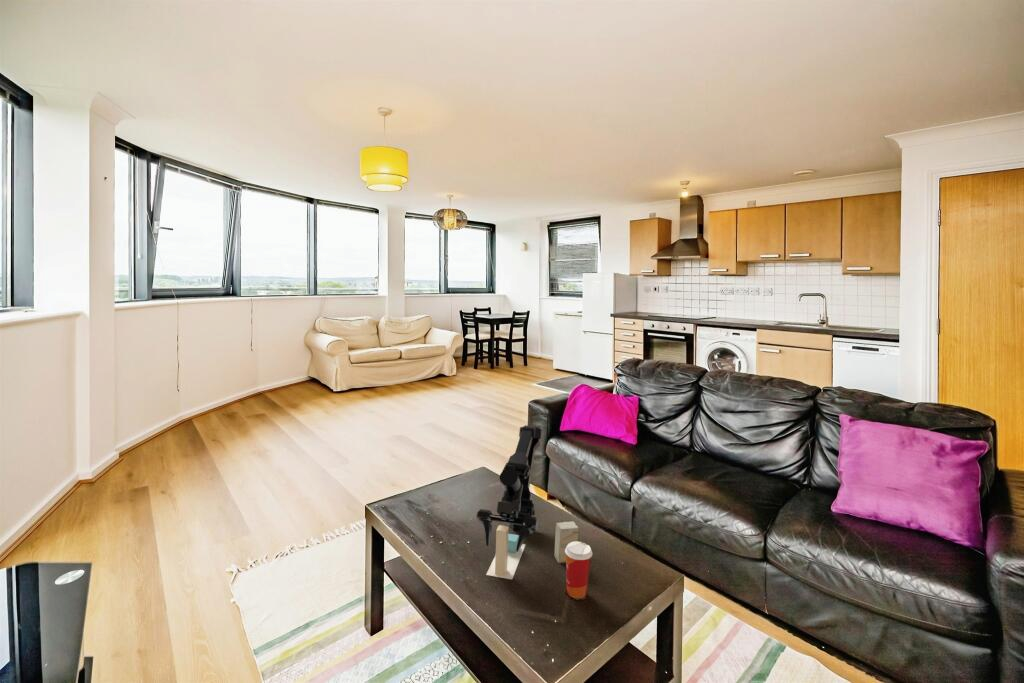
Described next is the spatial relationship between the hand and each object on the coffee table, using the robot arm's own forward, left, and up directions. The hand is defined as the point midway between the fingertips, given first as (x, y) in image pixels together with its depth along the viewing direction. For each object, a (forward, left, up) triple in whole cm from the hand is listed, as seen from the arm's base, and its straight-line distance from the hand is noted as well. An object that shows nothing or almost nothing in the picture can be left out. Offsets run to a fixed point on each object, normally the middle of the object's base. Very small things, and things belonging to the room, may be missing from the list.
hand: (502, 549), depth 140 cm
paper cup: (-16, +17, -8) cm, 25 cm away
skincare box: (-22, +2, -8) cm, 23 cm away
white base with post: (-5, -5, -8) cm, 11 cm away
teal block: (-8, -10, -7) cm, 15 cm away
